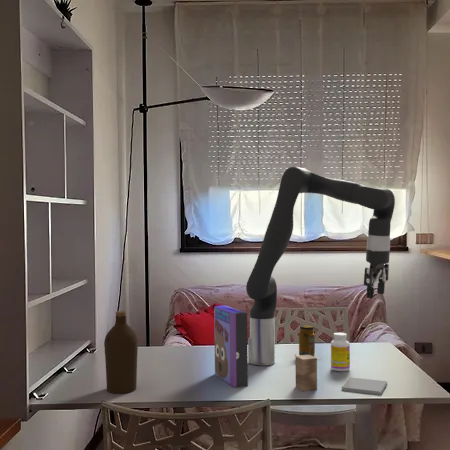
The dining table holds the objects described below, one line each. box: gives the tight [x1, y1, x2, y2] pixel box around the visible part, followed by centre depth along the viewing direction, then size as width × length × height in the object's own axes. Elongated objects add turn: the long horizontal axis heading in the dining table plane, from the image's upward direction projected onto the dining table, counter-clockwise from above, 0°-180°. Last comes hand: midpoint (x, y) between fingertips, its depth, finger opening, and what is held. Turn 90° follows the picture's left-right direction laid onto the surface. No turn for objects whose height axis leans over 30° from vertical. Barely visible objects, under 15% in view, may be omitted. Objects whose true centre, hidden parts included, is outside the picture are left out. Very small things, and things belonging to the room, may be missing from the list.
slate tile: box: [341, 376, 388, 396], centre depth 183 cm, size 12×12×1 cm
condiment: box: [295, 324, 319, 358], centre depth 222 cm, size 7×8×12 cm
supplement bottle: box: [330, 332, 351, 373], centre depth 204 cm, size 7×7×13 cm
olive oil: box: [103, 310, 139, 394], centre depth 183 cm, size 11×11×25 cm
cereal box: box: [213, 304, 249, 389], centre depth 192 cm, size 17×5×24 cm, turn 22°
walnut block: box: [295, 355, 318, 392], centre depth 182 cm, size 5×5×10 cm
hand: (375, 295), depth 192 cm, fingers open, 8 cm apart
